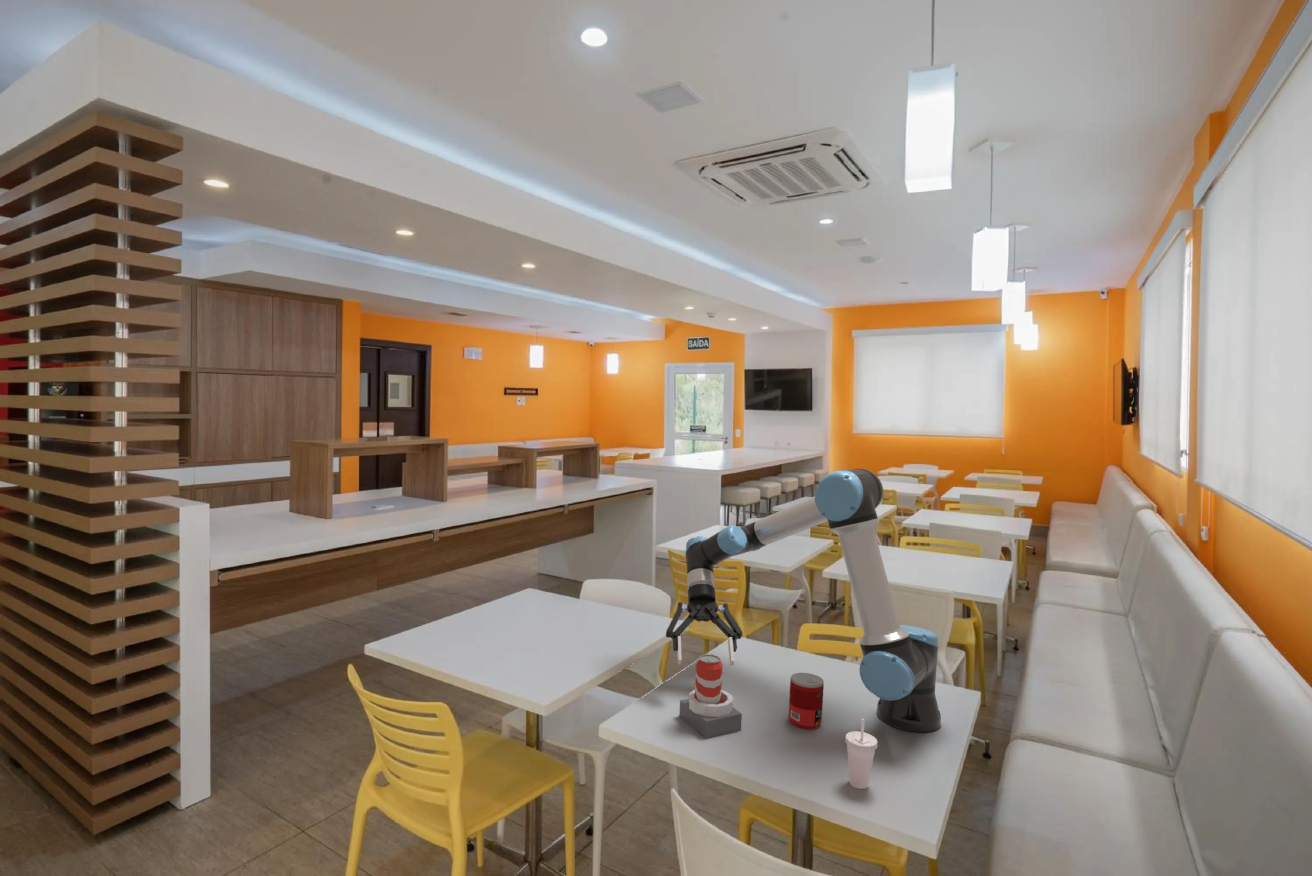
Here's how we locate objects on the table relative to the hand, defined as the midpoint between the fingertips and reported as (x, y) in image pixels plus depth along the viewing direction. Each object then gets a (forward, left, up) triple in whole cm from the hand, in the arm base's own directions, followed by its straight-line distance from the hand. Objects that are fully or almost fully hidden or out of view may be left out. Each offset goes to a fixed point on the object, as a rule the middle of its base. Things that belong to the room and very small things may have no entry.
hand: (706, 662), depth 174 cm
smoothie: (-44, -10, -11) cm, 47 cm away
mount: (-9, +4, -11) cm, 15 cm away
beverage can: (-9, +5, -7) cm, 13 cm away
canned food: (-18, -18, -11) cm, 28 cm away
